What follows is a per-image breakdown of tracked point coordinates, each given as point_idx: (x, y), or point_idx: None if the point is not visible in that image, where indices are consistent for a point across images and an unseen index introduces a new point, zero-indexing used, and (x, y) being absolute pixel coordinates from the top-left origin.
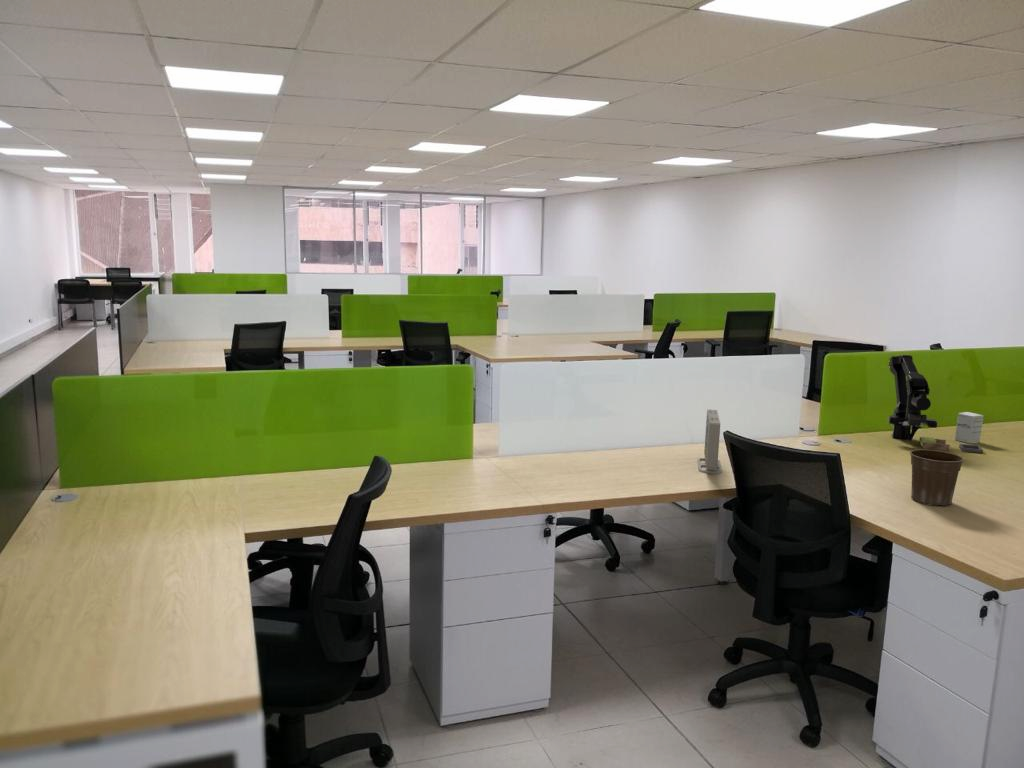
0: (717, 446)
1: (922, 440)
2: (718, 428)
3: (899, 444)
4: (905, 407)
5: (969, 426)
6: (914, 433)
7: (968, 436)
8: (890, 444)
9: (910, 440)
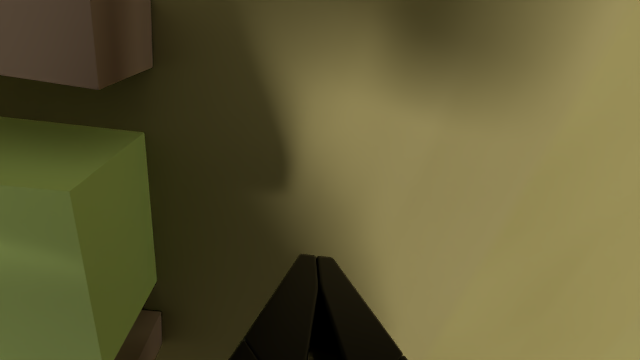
0: None
1: (105, 240)
2: None
3: (469, 190)
4: None
5: None
6: (245, 354)
7: None
8: (619, 154)
9: (312, 256)
